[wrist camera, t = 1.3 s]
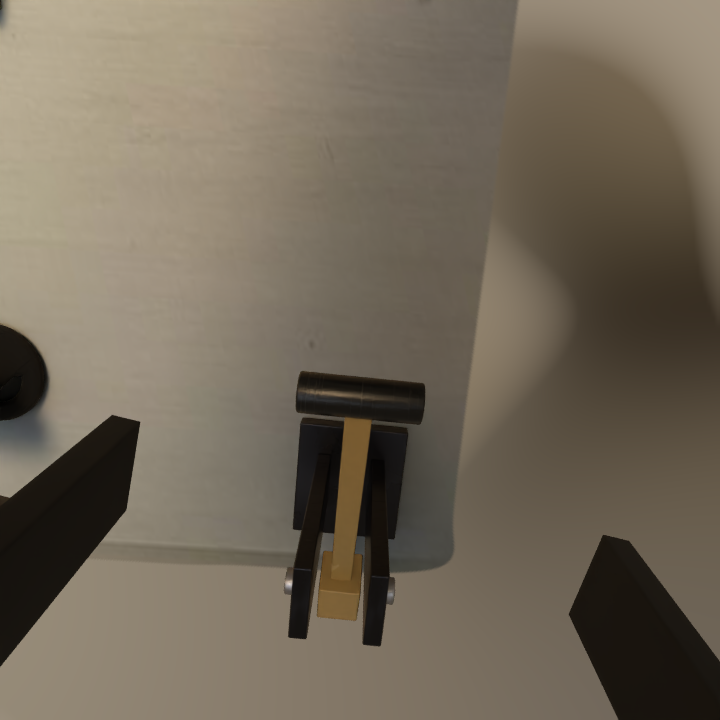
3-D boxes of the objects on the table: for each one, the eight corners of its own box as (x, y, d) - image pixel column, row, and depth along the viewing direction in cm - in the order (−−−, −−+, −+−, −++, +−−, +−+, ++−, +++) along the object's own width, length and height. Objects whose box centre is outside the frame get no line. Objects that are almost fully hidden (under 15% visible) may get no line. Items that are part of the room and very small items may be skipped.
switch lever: (302, 357, 23) (294, 395, 21) (424, 369, 23) (426, 408, 21) (297, 575, 33) (291, 615, 31) (382, 583, 33) (381, 623, 31)
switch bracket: (302, 417, 42) (266, 525, 28) (407, 427, 42) (424, 541, 28) (294, 521, 45) (257, 670, 30) (393, 531, 45) (403, 684, 30)
